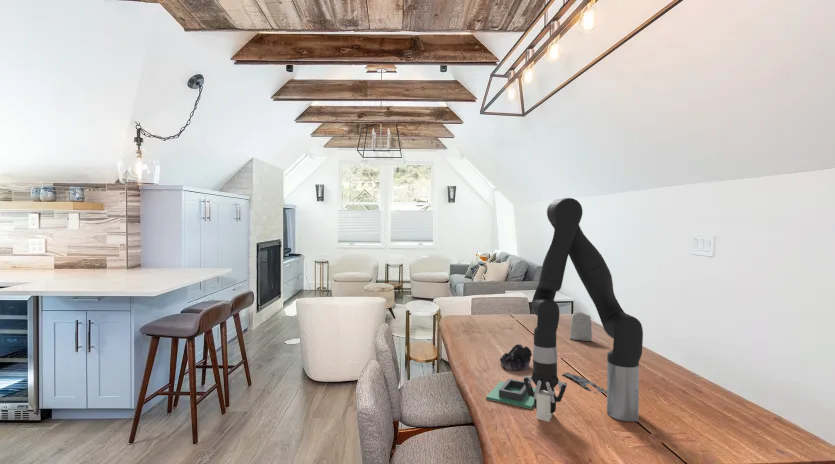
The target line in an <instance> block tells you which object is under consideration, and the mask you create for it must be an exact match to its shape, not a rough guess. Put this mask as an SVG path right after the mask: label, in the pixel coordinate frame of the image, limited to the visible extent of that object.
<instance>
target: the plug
mask: <svg viewBox="0 0 835 464" xmlns="http://www.w3.org/2000/svg"><path fill="white" fill-rule="evenodd" d="M553 415H554V413H553V414H551V396H550V395H549V393H548V391H545V390H540V392H539V393H537V410H536V420H539V419H540V420H541V421H544V422H551V420H552V417H553ZM550 419H551V420H550Z"/></svg>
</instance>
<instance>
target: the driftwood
mask: <svg viewBox="0 0 835 464" xmlns="http://www.w3.org/2000/svg"><path fill="white" fill-rule="evenodd" d="M561 375H562V376H566V377H568V378H571V379H572V381H573V382H574V381H575V382H577V383H578V384H579V385H580V386H582V387H583V388H586V390H587V391H588V392H592V389H590V387H589V386H587V385H590V386H592V387H594V388H596V390H597V391H594V392H593V393H594V394H596V395H597V394H599V393H604V394H607V390H605V389H604V388H602V387H600V386H598V385H597V384H596V383H594V382H592V381H590V380H588V379H586V378H585V377H582V376H581V375H580V376H579V375H576V374H572V373H570V372H565V373H562V374H561Z"/></svg>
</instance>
